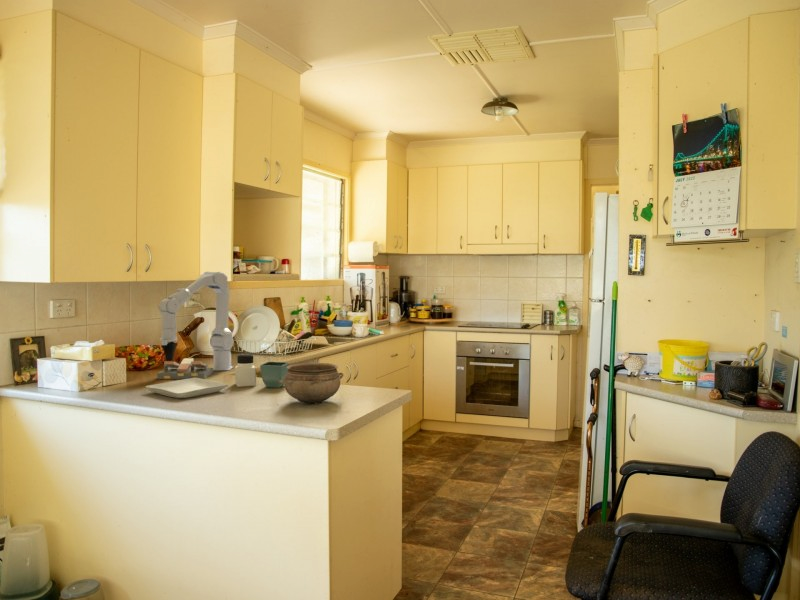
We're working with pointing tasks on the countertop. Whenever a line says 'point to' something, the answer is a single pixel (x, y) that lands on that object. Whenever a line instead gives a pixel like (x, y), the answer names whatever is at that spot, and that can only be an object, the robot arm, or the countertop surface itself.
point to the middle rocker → (185, 365)
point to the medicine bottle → (245, 371)
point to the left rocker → (171, 364)
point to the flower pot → (274, 373)
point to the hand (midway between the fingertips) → (169, 360)
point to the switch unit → (184, 373)
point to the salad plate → (187, 387)
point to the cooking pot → (312, 382)
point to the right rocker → (198, 364)
